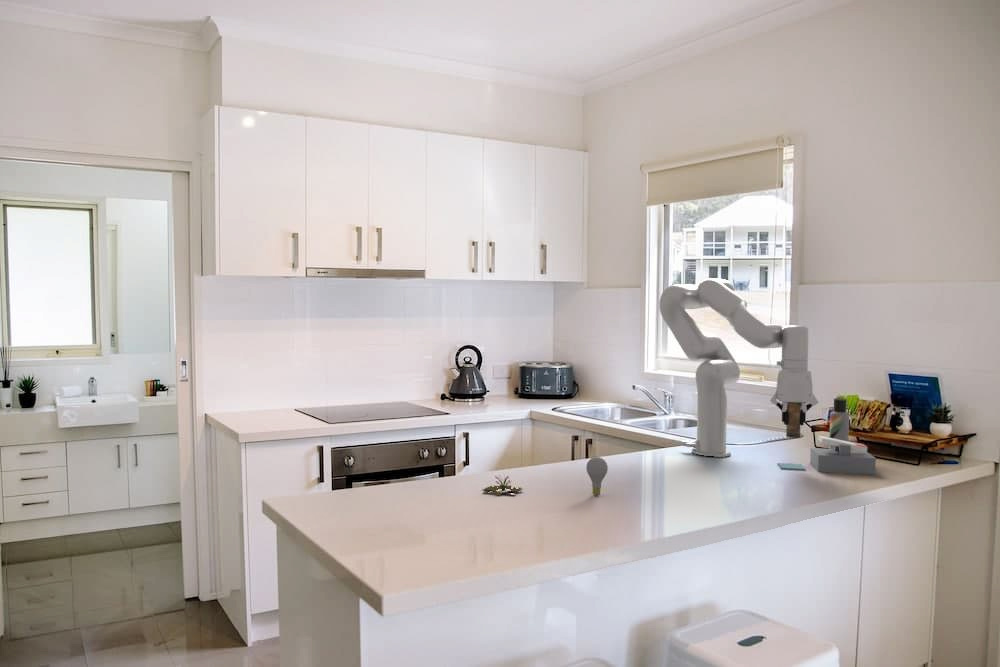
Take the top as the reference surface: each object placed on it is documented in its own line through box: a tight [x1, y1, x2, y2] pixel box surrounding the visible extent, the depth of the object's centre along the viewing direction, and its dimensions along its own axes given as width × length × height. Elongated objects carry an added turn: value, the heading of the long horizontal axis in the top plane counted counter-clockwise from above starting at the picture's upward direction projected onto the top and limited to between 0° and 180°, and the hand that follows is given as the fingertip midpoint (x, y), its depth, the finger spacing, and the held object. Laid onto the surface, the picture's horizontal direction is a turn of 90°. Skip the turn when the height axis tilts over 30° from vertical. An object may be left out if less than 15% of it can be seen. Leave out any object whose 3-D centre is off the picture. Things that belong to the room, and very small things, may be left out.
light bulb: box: [585, 456, 609, 496], centre depth 194 cm, size 5×6×10 cm
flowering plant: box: [481, 474, 522, 496], centre depth 197 cm, size 12×12×5 cm
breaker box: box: [809, 445, 877, 476], centre depth 231 cm, size 16×12×8 cm
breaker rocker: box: [818, 435, 868, 452], centre depth 231 cm, size 13×5×2 cm, turn 78°
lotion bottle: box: [828, 396, 850, 449], centre depth 248 cm, size 6×6×20 cm
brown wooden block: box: [785, 402, 801, 439], centre depth 231 cm, size 4×4×14 cm
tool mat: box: [777, 462, 806, 471], centre depth 232 cm, size 7×7×1 cm
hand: (793, 424), depth 232 cm, fingers closed on brown wooden block, 4 cm apart
